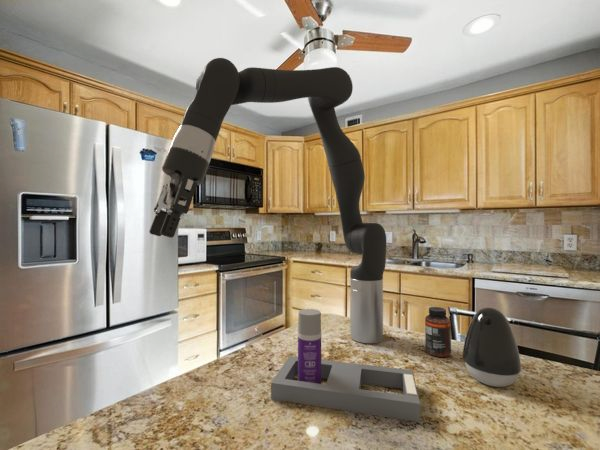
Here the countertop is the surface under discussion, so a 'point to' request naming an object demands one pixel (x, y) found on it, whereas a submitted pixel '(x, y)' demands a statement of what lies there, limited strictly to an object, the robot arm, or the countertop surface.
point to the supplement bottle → (438, 332)
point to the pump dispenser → (491, 349)
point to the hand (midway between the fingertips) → (160, 235)
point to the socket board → (351, 389)
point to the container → (309, 346)
